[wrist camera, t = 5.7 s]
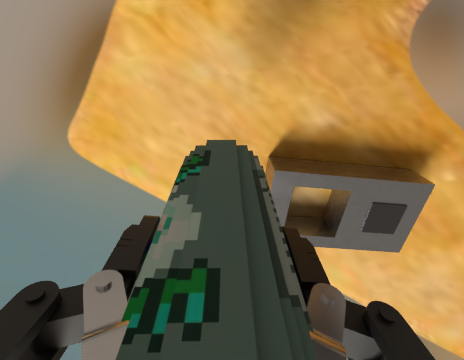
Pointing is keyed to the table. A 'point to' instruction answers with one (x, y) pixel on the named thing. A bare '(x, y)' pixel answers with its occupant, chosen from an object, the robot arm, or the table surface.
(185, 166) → the can
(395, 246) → the block with square hole
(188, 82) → the table surface
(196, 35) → the table surface
